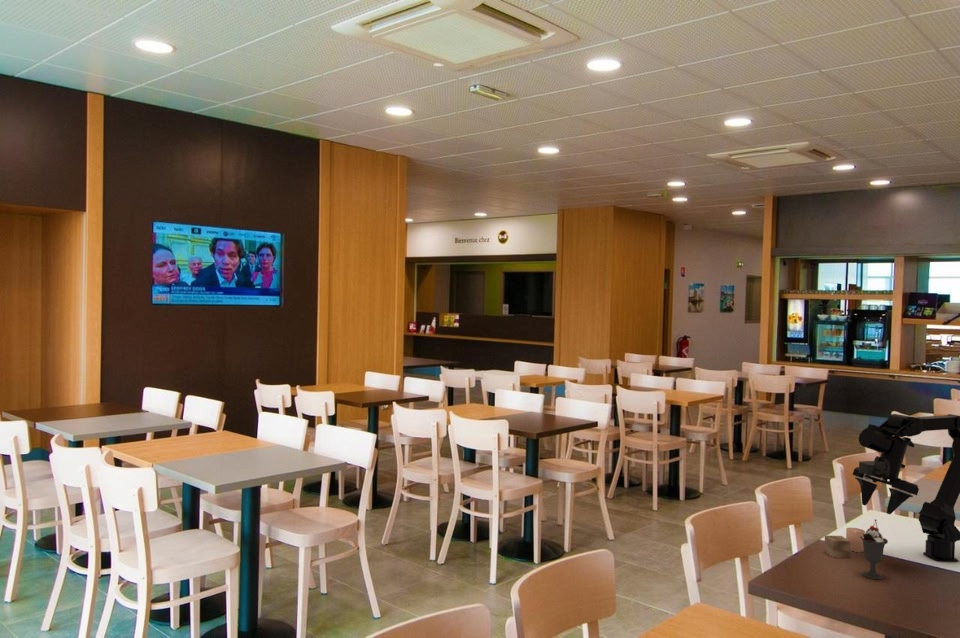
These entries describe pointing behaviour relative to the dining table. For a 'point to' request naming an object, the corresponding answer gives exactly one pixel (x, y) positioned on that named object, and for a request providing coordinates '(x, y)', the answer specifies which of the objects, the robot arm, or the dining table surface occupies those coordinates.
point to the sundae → (873, 550)
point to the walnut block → (837, 546)
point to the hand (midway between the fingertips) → (875, 509)
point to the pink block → (855, 539)
